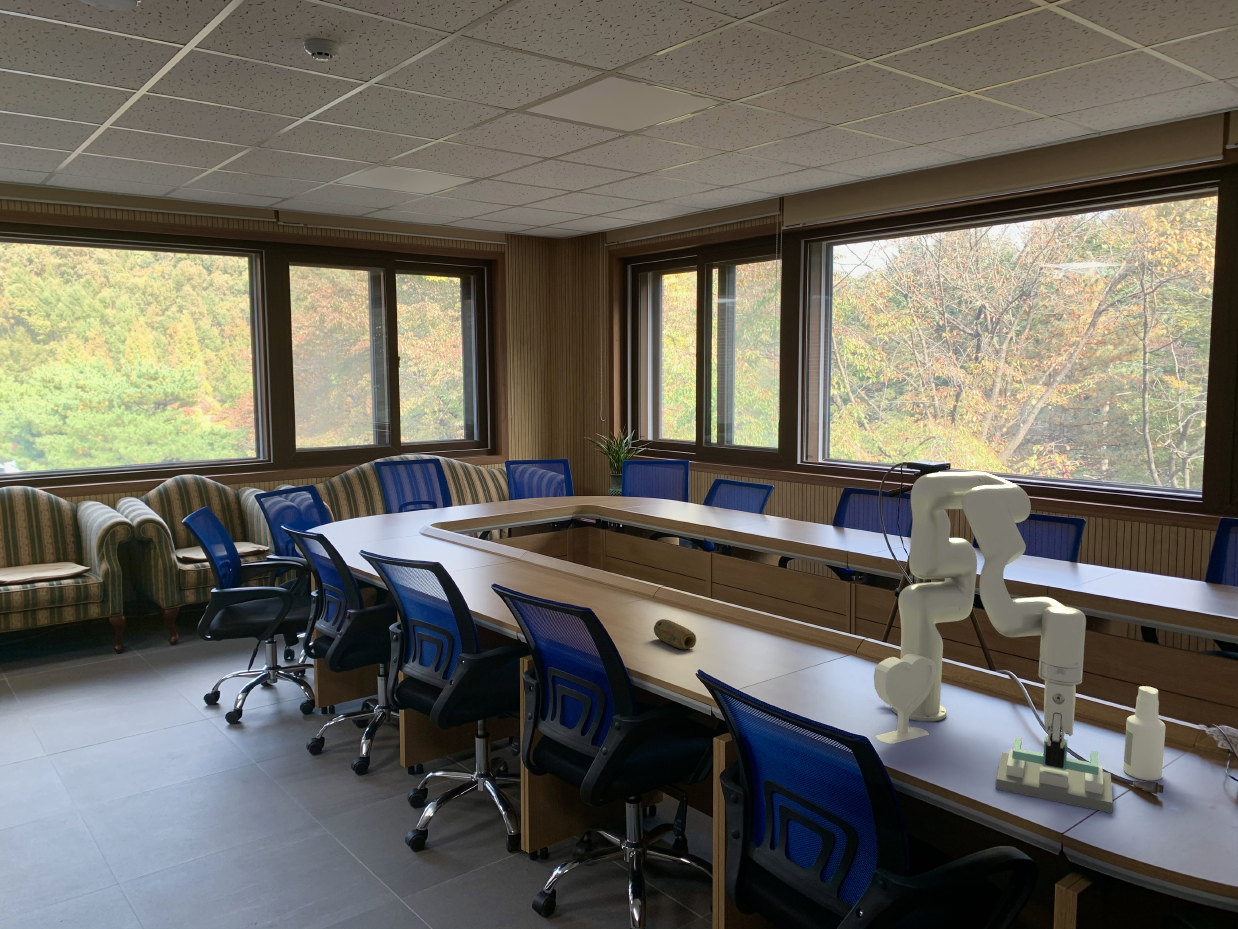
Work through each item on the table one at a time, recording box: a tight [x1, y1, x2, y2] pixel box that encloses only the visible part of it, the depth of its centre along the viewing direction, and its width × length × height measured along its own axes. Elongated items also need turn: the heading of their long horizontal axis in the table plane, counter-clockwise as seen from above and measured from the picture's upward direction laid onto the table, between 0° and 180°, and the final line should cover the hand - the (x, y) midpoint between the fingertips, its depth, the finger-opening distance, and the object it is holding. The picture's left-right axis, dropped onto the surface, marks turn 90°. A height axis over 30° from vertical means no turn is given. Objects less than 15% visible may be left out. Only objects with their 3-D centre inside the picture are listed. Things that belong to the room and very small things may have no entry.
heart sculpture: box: [873, 654, 936, 745], centre depth 198 cm, size 16×5×18 cm, turn 118°
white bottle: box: [1122, 685, 1167, 782], centre depth 180 cm, size 7×7×18 cm
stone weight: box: [653, 618, 697, 650], centre depth 264 cm, size 15×7×7 cm, turn 37°
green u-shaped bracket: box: [1012, 735, 1099, 775], centre depth 174 cm, size 15×10×5 cm, turn 62°
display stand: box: [995, 747, 1113, 814], centre depth 175 cm, size 20×14×4 cm
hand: (1054, 761), depth 172 cm, fingers closed on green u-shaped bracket, 2 cm apart
